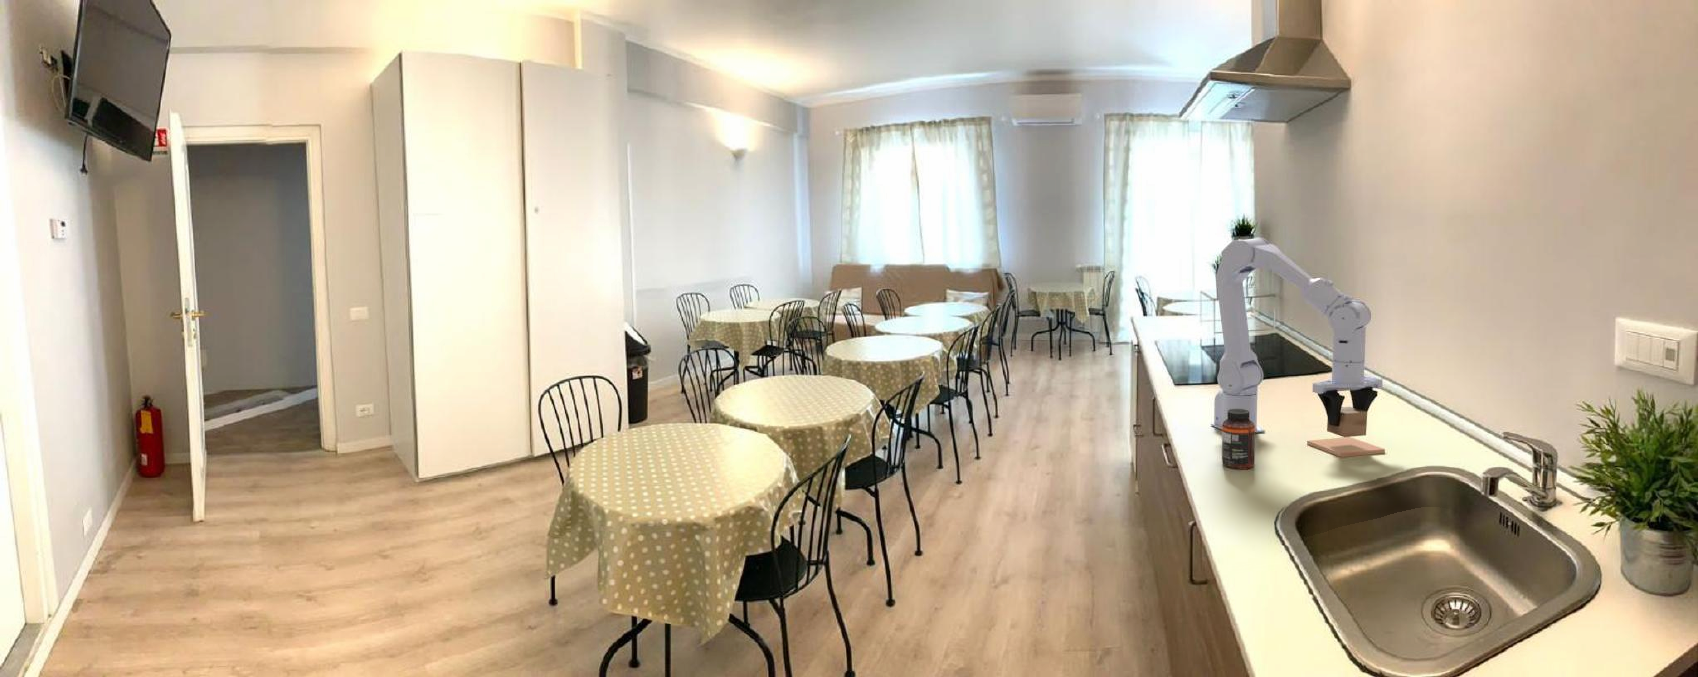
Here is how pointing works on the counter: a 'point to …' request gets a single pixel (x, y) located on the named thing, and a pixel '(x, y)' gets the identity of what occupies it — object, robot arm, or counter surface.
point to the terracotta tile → (1345, 446)
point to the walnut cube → (1350, 423)
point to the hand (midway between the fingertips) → (1346, 424)
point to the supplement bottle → (1238, 440)
